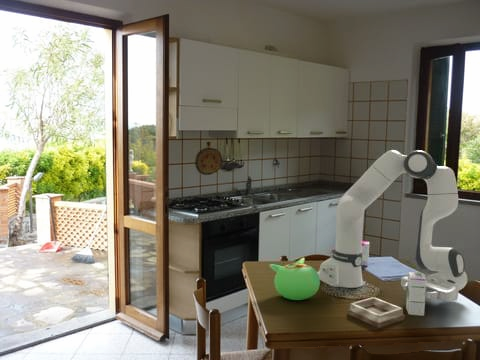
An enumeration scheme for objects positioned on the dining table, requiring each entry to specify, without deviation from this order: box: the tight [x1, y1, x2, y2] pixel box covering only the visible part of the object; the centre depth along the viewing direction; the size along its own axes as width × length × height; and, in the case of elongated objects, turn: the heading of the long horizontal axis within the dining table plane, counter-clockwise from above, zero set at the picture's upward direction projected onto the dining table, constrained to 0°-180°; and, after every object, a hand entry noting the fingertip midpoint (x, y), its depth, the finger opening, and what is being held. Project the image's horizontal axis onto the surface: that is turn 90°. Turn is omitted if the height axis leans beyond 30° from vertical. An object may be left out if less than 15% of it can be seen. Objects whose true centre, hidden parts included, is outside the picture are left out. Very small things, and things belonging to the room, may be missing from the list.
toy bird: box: [268, 257, 321, 301], centre depth 181 cm, size 18×17×15 cm
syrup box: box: [405, 271, 427, 317], centre depth 170 cm, size 6×6×14 cm
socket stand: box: [347, 296, 406, 329], centre depth 166 cm, size 14×14×4 cm
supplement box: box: [361, 240, 370, 268], centre depth 230 cm, size 6×6×12 cm
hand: (415, 291), depth 170 cm, fingers closed on syrup box, 8 cm apart
